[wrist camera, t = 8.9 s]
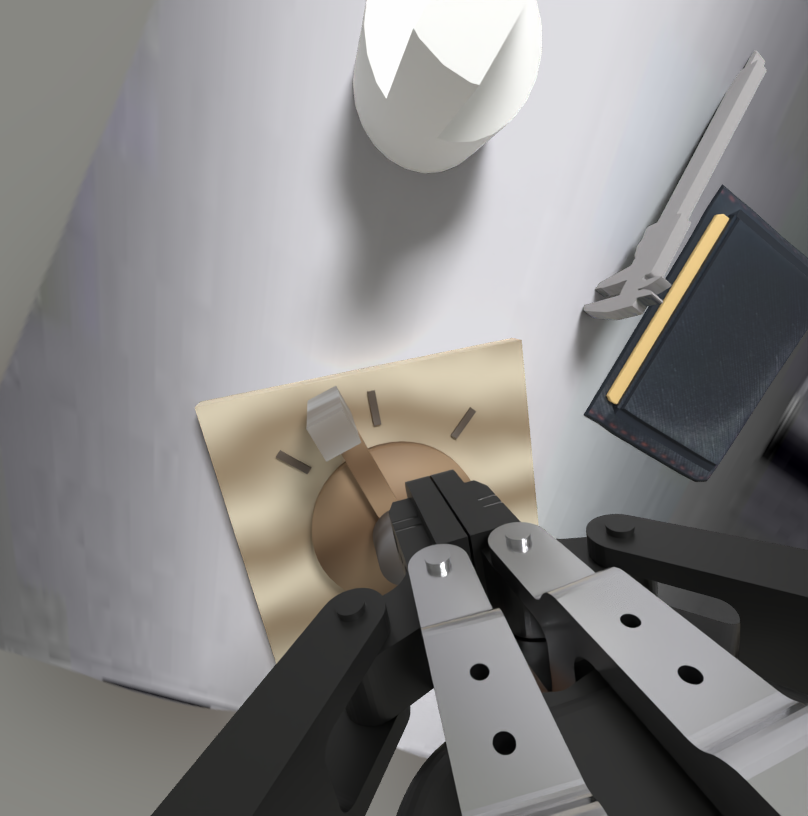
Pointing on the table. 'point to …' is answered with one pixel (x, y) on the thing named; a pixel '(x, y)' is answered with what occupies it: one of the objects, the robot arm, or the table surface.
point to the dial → (362, 496)
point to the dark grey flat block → (708, 341)
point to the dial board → (377, 423)
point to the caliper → (677, 209)
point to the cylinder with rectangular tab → (443, 75)
